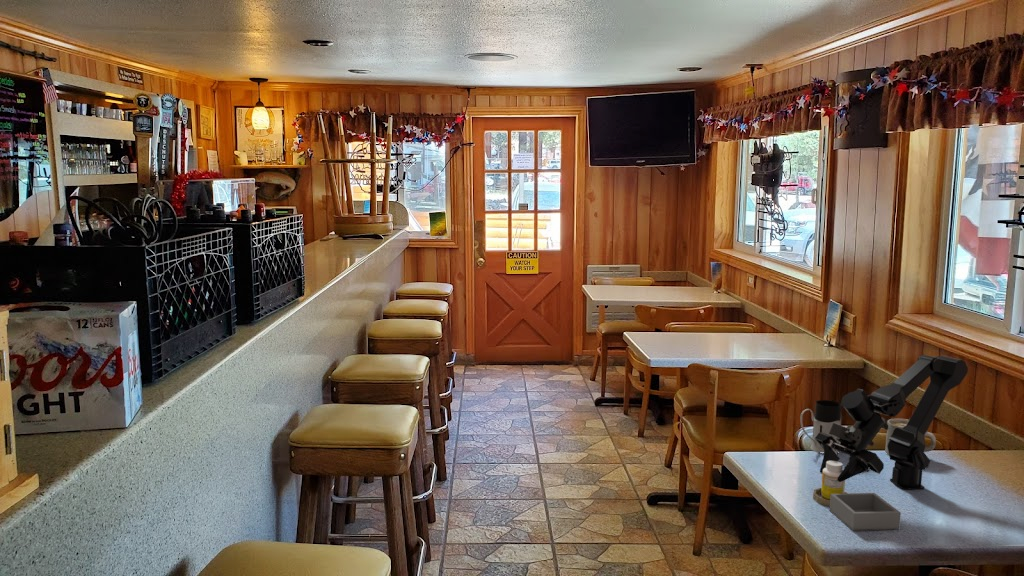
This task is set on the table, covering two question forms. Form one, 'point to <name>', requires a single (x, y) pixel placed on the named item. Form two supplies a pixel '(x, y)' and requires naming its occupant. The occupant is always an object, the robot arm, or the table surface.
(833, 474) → the supplement bottle
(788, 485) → the table surface
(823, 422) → the glass holder
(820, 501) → the stud collar
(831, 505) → the bin
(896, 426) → the coffee mug
